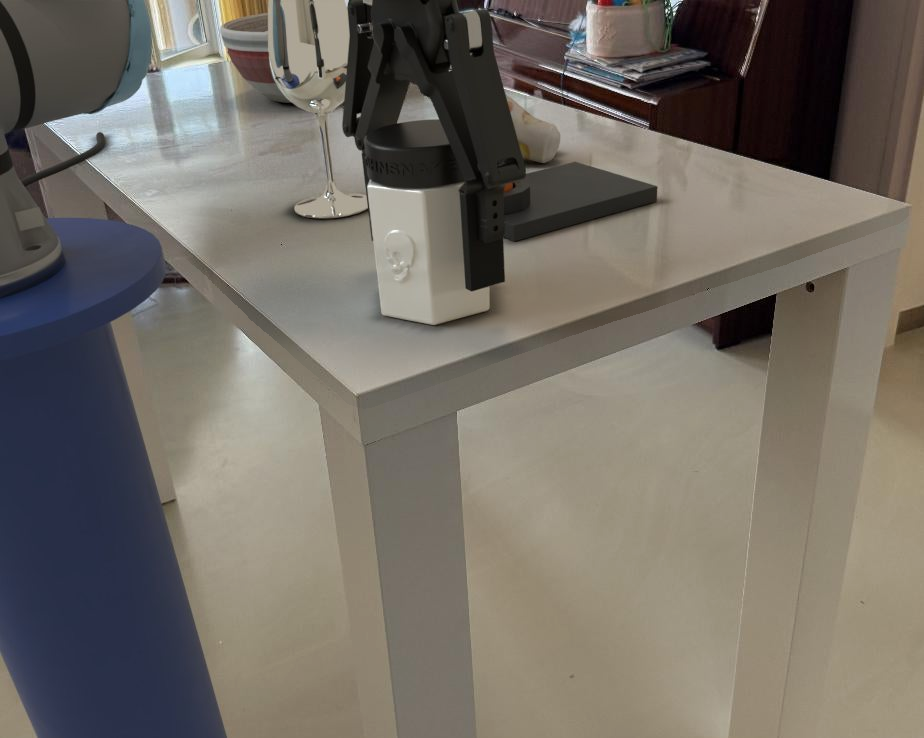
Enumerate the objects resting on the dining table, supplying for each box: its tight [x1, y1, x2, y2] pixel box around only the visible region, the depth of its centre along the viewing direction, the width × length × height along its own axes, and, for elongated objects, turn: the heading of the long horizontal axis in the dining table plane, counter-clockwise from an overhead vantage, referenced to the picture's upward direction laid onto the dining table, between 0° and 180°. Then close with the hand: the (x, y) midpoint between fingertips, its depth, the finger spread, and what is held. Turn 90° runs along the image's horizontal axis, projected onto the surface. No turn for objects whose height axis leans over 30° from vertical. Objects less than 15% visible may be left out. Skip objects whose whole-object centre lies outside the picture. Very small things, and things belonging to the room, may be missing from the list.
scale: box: [504, 161, 659, 242], centre depth 89 cm, size 12×17×3 cm
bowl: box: [219, 5, 348, 104], centre depth 136 cm, size 23×23×10 cm
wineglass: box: [267, 0, 368, 220], centre depth 88 cm, size 8×8×20 cm
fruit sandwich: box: [504, 94, 561, 164], centre depth 102 cm, size 8×10×10 cm
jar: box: [364, 118, 491, 326], centre depth 69 cm, size 9×8×12 cm
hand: (434, 260), depth 70 cm, fingers open, 12 cm apart
